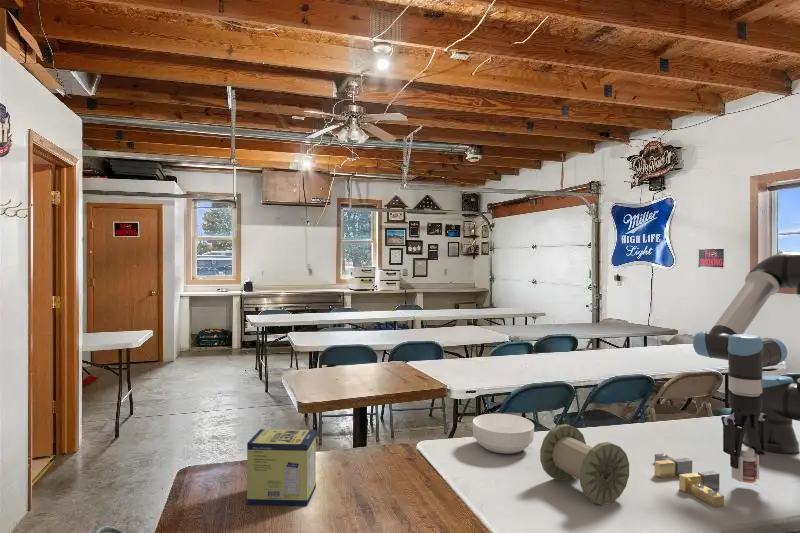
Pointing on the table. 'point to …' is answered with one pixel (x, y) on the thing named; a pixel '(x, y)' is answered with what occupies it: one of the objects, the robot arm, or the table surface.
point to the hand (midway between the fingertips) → (745, 478)
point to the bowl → (503, 432)
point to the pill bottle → (748, 464)
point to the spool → (585, 463)
